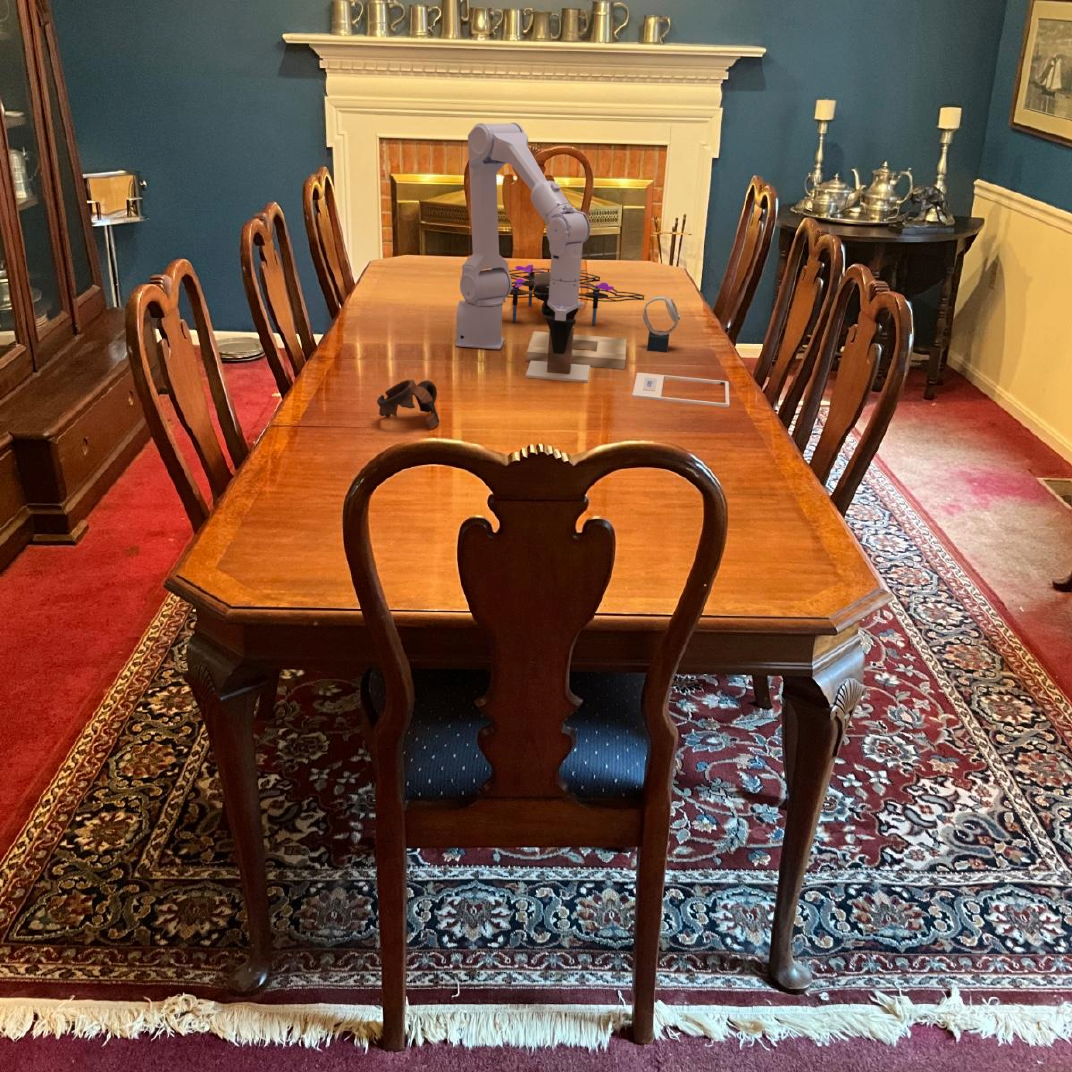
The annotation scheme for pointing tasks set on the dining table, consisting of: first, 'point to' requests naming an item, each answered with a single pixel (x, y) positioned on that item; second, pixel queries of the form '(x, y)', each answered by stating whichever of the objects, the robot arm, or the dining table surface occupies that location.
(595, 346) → the pocket board
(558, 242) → the robot arm
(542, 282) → the drone
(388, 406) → the brown curved piece
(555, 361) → the block
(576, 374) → the felt pad
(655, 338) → the watch
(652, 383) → the photo frame
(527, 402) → the dining table surface
